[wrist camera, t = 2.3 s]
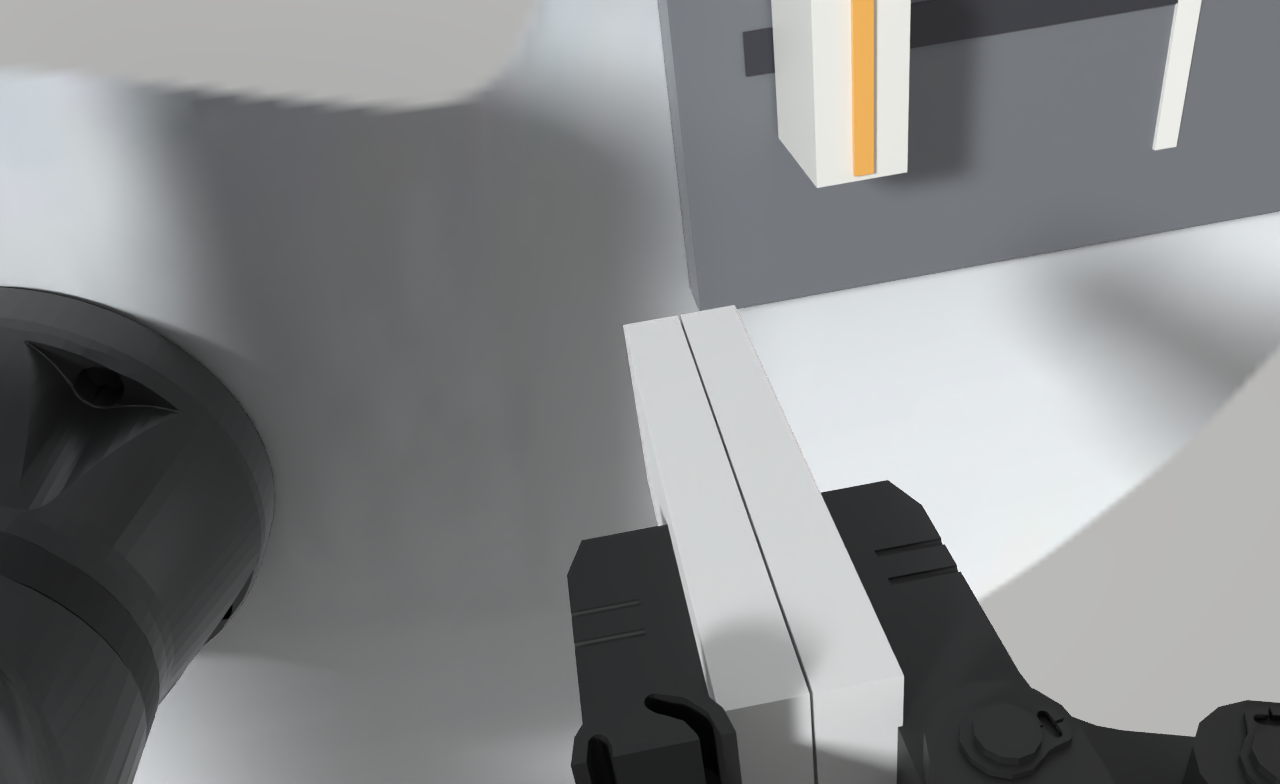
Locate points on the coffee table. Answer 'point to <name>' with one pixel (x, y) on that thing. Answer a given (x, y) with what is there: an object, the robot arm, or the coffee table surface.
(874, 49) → the fader cap
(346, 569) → the coffee table surface
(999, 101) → the console
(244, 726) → the coffee table surface
